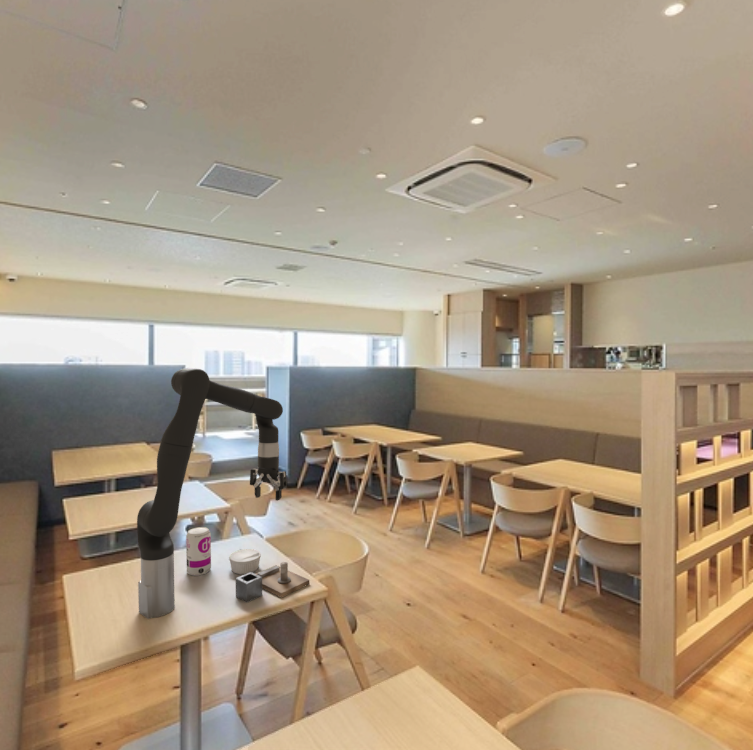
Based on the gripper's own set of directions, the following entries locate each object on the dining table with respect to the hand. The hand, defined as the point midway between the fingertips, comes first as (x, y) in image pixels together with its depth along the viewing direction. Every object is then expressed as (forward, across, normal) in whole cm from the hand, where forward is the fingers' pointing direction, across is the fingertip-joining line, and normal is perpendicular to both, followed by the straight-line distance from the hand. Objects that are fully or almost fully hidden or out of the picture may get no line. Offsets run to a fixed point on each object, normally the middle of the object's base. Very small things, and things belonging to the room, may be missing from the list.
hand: (267, 498), depth 174 cm
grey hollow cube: (+26, +6, -19) cm, 33 cm away
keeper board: (+26, +10, -8) cm, 29 cm away
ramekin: (+26, -8, -3) cm, 28 cm away
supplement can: (+26, -22, -10) cm, 36 cm away
